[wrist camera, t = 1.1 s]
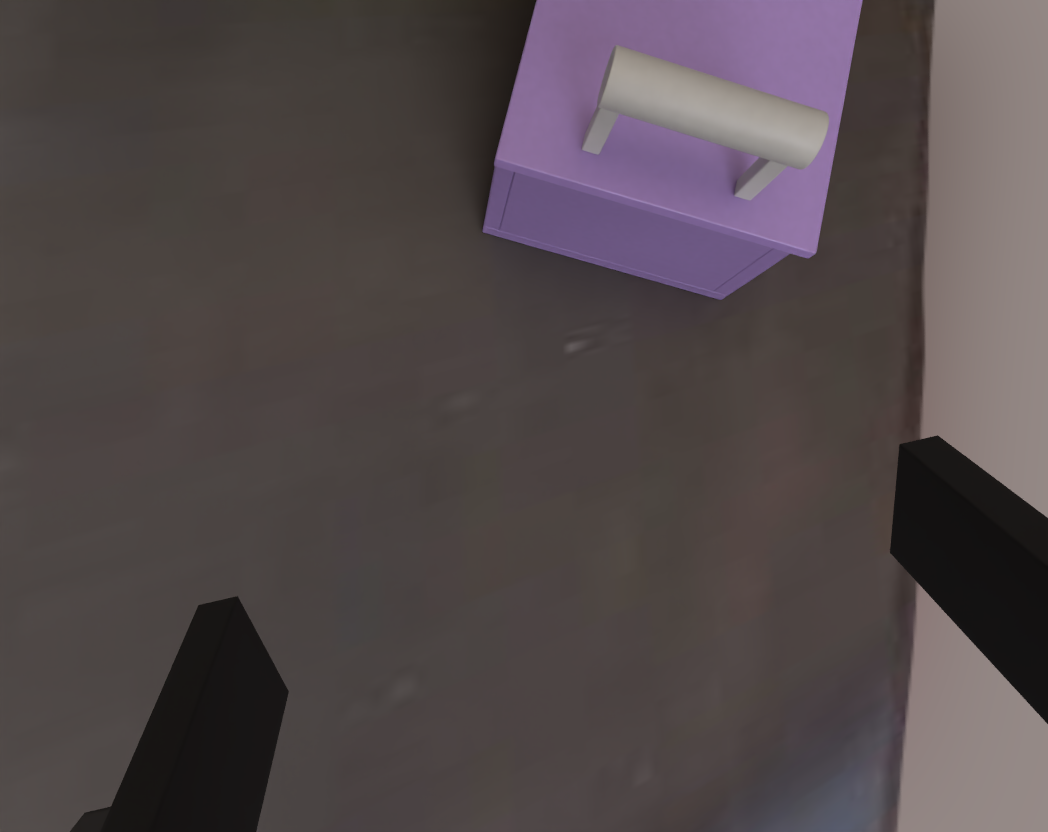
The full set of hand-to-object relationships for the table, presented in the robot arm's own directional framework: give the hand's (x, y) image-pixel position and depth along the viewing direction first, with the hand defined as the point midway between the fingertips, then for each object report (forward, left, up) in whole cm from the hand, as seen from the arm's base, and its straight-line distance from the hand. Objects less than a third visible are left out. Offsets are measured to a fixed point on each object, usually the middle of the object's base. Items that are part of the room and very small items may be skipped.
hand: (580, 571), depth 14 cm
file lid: (-16, +14, -10) cm, 24 cm away
